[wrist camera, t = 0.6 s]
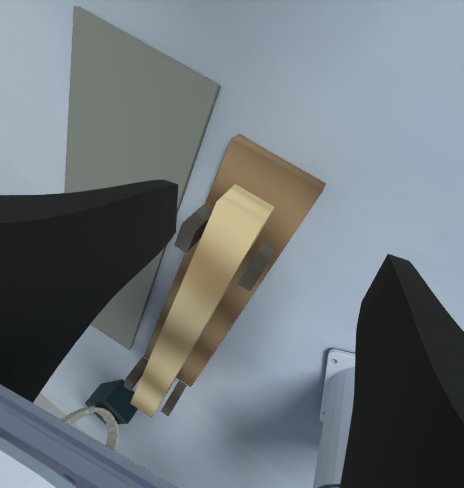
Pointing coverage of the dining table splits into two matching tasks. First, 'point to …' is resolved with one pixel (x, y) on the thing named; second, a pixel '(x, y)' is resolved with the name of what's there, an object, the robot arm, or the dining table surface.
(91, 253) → the robot arm
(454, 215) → the dining table surface
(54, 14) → the dining table surface
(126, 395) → the watch
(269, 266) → the rack
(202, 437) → the dining table surface
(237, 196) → the rail
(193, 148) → the mat
